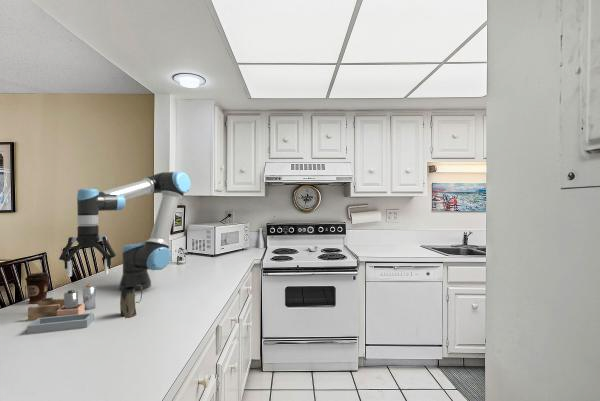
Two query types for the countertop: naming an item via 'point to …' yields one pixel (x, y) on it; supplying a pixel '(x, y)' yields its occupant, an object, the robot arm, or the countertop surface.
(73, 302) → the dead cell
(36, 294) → the coffee cup
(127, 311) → the mug
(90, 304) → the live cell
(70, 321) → the trough
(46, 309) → the checker cradle
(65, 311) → the pink square tray
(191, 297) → the countertop surface
